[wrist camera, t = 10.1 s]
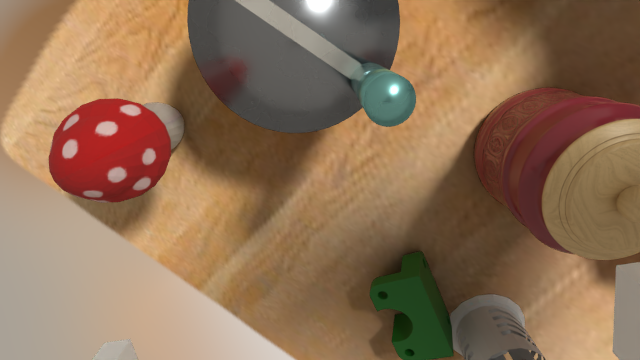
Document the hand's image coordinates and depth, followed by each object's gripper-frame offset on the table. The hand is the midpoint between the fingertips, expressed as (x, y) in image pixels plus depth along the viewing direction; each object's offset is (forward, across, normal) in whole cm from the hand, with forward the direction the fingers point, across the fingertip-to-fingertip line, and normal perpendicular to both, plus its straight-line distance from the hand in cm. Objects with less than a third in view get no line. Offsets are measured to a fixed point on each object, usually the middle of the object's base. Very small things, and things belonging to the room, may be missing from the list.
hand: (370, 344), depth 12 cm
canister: (+35, +20, -7) cm, 41 cm away
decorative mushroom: (+35, -19, +2) cm, 40 cm away
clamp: (+35, +5, -23) cm, 42 cm away
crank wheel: (+31, -2, +9) cm, 33 cm away
